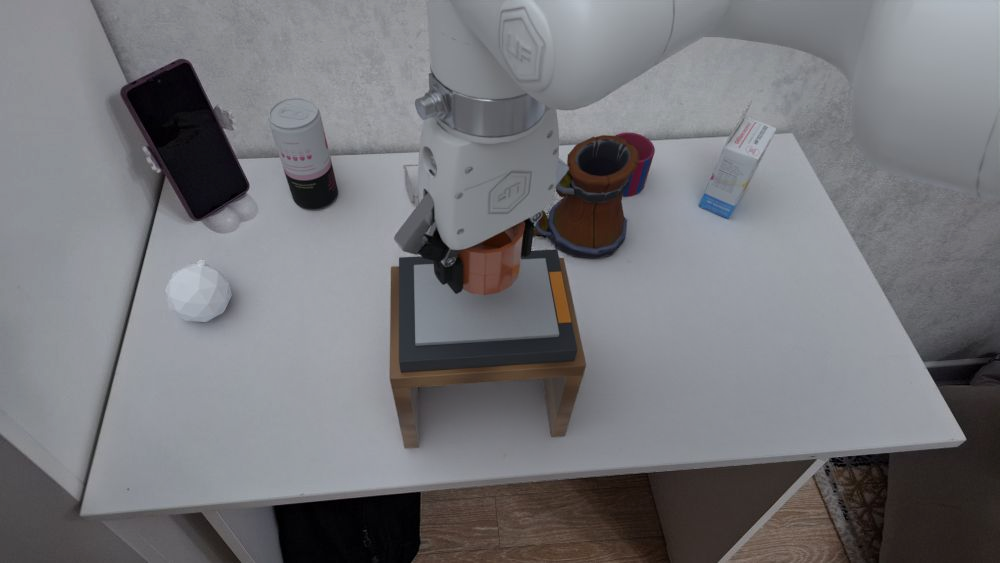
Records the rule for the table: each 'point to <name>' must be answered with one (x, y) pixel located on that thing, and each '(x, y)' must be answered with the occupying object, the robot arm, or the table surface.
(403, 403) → the stand
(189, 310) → the ornament
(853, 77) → the robot arm
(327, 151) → the beverage can
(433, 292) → the scale
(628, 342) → the table surface
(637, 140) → the cup
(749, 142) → the ink box
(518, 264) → the flower pot
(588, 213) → the mug
